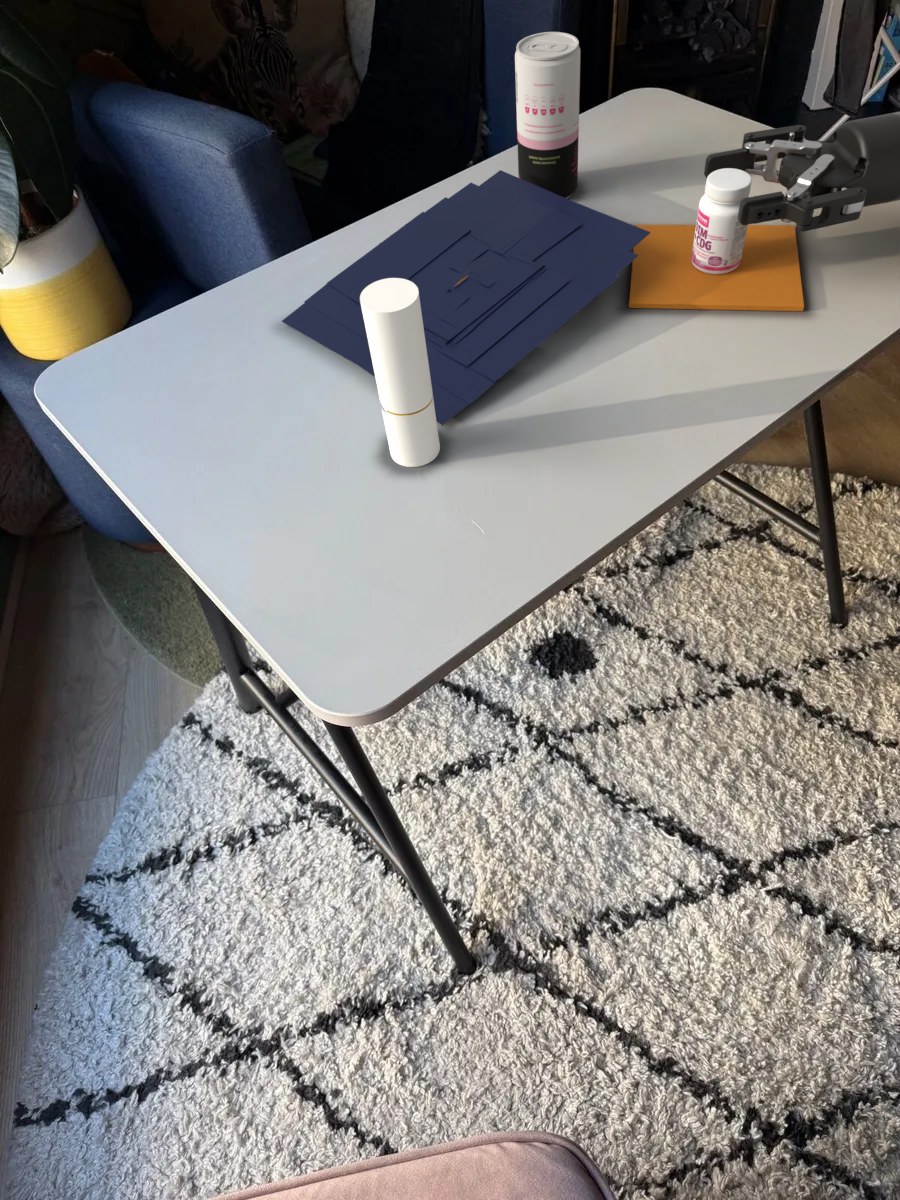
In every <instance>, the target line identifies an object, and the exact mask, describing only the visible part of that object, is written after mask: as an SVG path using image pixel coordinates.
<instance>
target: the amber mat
mask: <svg viewBox="0 0 900 1200" xmlns="http://www.w3.org/2000/svg"><path fill="white" fill-rule="evenodd" d="M634 226H636V227H639V228H641V229H644V230H646V231H649V232H651V233H650V234H649V235H648V236H647V237H645V238H644V239H643V240H642V241H641V242H640V243H638V244H637V245H636V246H635V247H634V248H633V249H632V250H633V251H632V253H634V254H637V255H639V256H637V257H636V258H635V259H634V260H633V261H632V262H631V273H630V285H629V298H628V299H629V300H628V308H629V309H658V310H659V309H660V310H661V309H663V310H664V309H665V310H708V311H709V310H711V311H712V310H713V311H717V310H718V311H761V312H762V311H763V312H764V311H765V312H766V311H768V312H803V311H804V310H805V302H804V291H803V284H802V276H801V275H802V274H801V267H800V258H799V251H798V243H797V234H796V225H791V224H784V225H783V224H780V225H779V224H749V225H748V227H747V232H746V237H745V242H744V248H743V253H742V258H741V262H740V264H739V266H738V267H737V268H736V269H734V270H733V271H731V272H728V273H725V274H717V275H715V274H708V273H704V272H702V271H700V270H698V269H697V268H695V267H694V265H693V264H692V260H691V257H692V249H693V243H694V236H695V229H696V224H634Z"/></svg>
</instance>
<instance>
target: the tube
mask: <svg viewBox="0 0 900 1200" xmlns="http://www.w3.org/2000/svg"><path fill="white" fill-rule="evenodd" d="M360 303H361V308H362V313H363V318H364V323H365V328H366V333H367V338H368V343H369V348H370V353H371V358H372V363H373V368H374V373H375V377H374V378H375V382H376V387H377V392H378V393H377V394H378V397H379V402H380V408H381V415H382V418H383V423H384V429H385V434H386V438H387V442H388V448H389V453H390V456H391V459H392V460H393V461H394V463H396V464H397V465H400V466H403V467H407V468H417V467H422V466H426V465H428V464H429V463H431V462H433V461H435V459H436V458H437V457H438V455H439V454H440V450H441V446H440V437H439V430H438V422H437V421H436V414H435V407H434V400H433V392H432V385H431V378H430V370H429V363H428V356H427V349H426V341H425V334H424V327H423V320H422V312H421V305H420V298H419V291H418V288H417V286H416V285H415V284H414V283H413V282H411V281H409V280H406V279H402V278H387V279H382V280H378V281H376V282H373V283H372V284H370V285H368V286H367V287H366V288H365V289H364V290H363V291H362V293H361V295H360Z"/></svg>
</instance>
